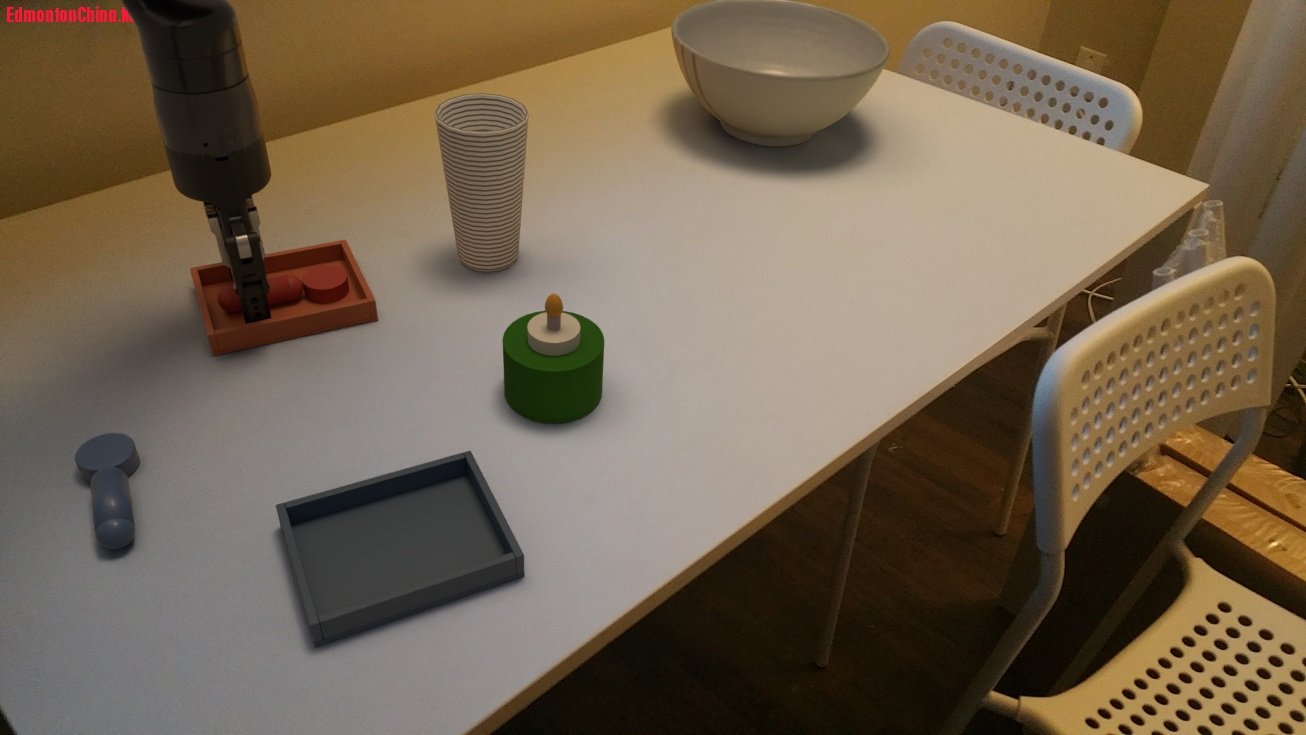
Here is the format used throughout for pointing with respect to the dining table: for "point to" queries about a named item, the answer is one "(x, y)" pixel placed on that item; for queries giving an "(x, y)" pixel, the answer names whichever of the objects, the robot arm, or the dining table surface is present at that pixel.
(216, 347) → the red tray
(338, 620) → the dark grey tray
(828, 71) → the decorative bowl
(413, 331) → the dining table surface
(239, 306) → the red spoon
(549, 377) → the candle
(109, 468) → the blue spoon
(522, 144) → the cup
